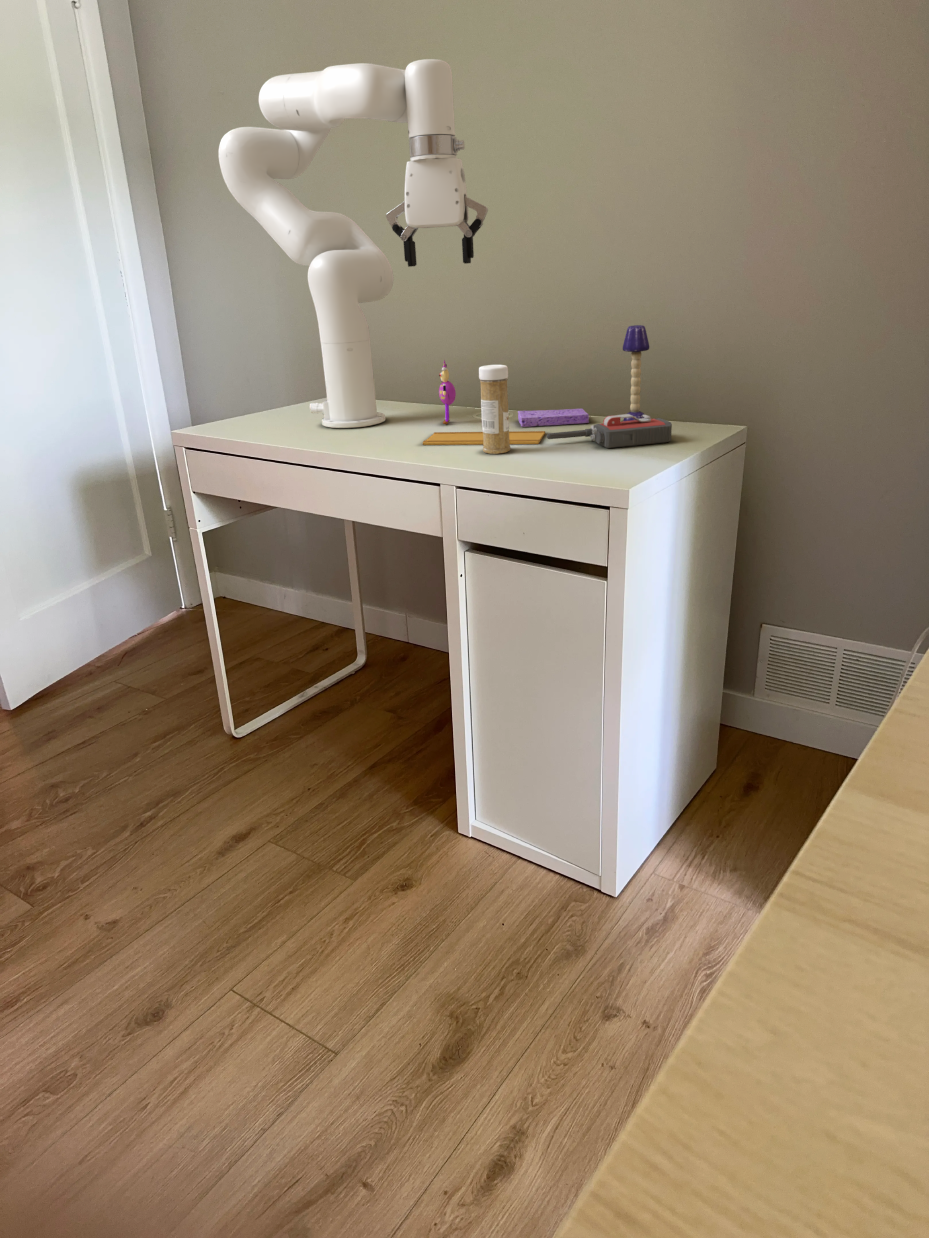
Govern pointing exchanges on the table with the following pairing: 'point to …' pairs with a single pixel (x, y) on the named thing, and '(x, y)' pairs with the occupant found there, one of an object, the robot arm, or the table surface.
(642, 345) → the toy lamp
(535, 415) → the sponge
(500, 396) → the brown spice jar
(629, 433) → the walkie-talkie
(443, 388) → the purple clown figurine
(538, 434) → the wooden board
